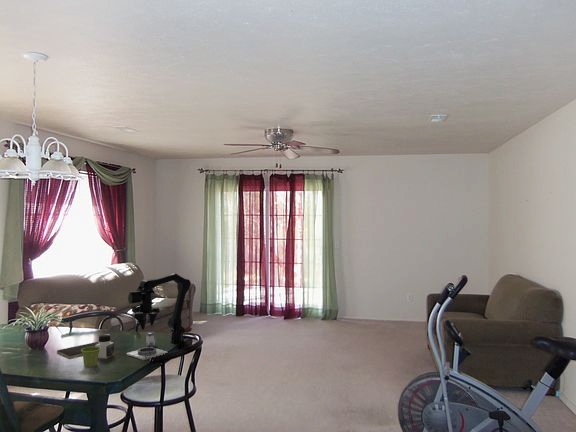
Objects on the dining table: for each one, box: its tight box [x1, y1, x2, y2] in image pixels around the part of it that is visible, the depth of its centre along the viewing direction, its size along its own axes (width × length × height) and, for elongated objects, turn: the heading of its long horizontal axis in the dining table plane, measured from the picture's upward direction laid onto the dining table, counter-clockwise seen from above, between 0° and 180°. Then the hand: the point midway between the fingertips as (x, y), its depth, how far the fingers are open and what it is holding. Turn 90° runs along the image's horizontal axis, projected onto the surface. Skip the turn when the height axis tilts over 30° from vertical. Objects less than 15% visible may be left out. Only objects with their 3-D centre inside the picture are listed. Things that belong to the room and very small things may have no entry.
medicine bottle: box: [95, 333, 115, 359], centre depth 250 cm, size 7×7×12 cm
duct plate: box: [126, 347, 169, 361], centre depth 254 cm, size 16×16×2 cm
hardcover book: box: [56, 341, 99, 359], centre depth 260 cm, size 16×23×2 cm
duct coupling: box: [145, 331, 156, 348], centre depth 270 cm, size 5×5×8 cm
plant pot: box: [81, 347, 101, 368], centre depth 234 cm, size 9×9×9 cm
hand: (147, 327), depth 267 cm, fingers open, 9 cm apart
